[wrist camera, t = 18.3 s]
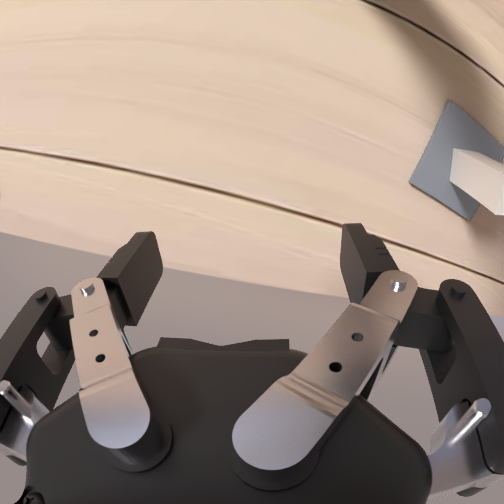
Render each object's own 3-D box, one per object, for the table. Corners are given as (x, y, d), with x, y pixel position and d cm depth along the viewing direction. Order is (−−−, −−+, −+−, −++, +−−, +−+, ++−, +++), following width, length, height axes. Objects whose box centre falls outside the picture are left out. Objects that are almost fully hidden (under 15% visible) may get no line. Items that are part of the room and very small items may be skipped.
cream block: (453, 148, 34) (503, 174, 23) (477, 152, 33) (528, 178, 23) (449, 180, 36) (495, 214, 26) (473, 182, 36) (519, 216, 25)
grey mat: (447, 99, 31) (450, 100, 30) (503, 149, 33) (506, 150, 32) (408, 181, 38) (410, 183, 37) (467, 219, 40) (470, 221, 39)
